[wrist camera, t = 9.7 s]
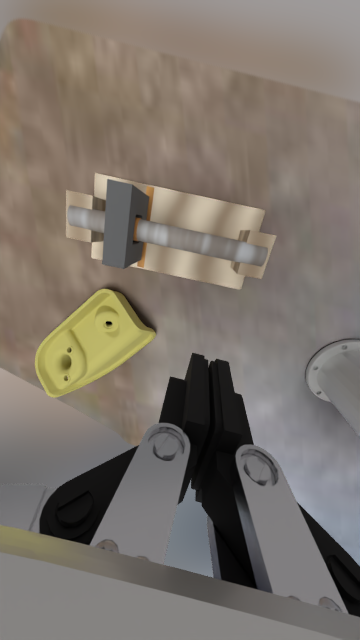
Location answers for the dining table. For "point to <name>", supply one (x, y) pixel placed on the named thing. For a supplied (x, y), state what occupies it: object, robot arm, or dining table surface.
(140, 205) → the collar
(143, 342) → the plastic component
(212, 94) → the dining table surface
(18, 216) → the dining table surface
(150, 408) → the dining table surface
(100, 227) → the pipe stand
